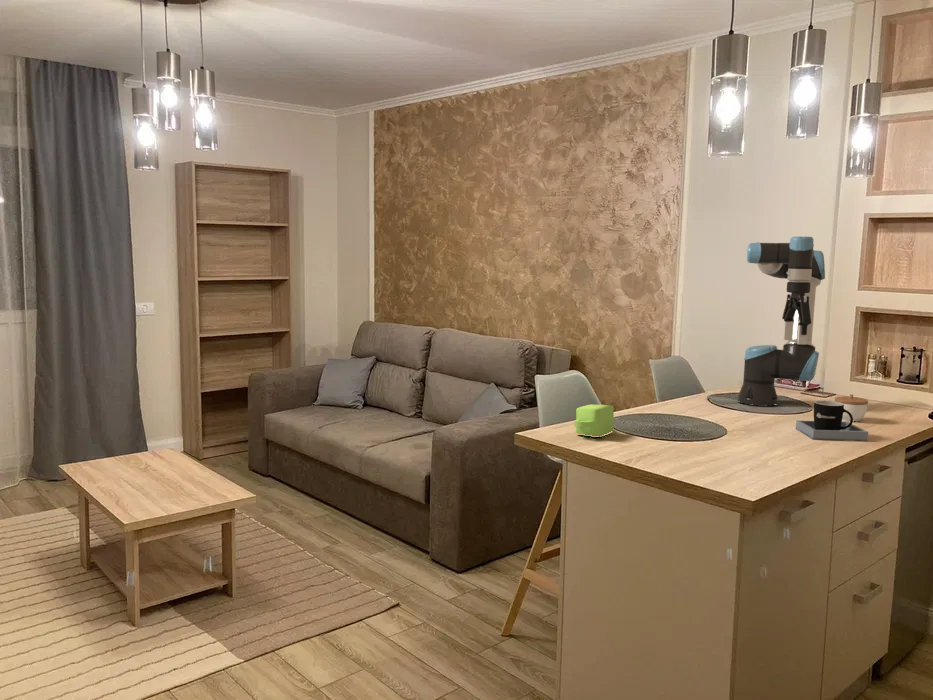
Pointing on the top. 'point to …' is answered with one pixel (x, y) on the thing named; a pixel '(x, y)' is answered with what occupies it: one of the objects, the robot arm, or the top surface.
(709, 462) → the top surface
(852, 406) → the lidded jar
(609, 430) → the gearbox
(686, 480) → the top surface
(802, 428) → the gray tray
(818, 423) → the mug
